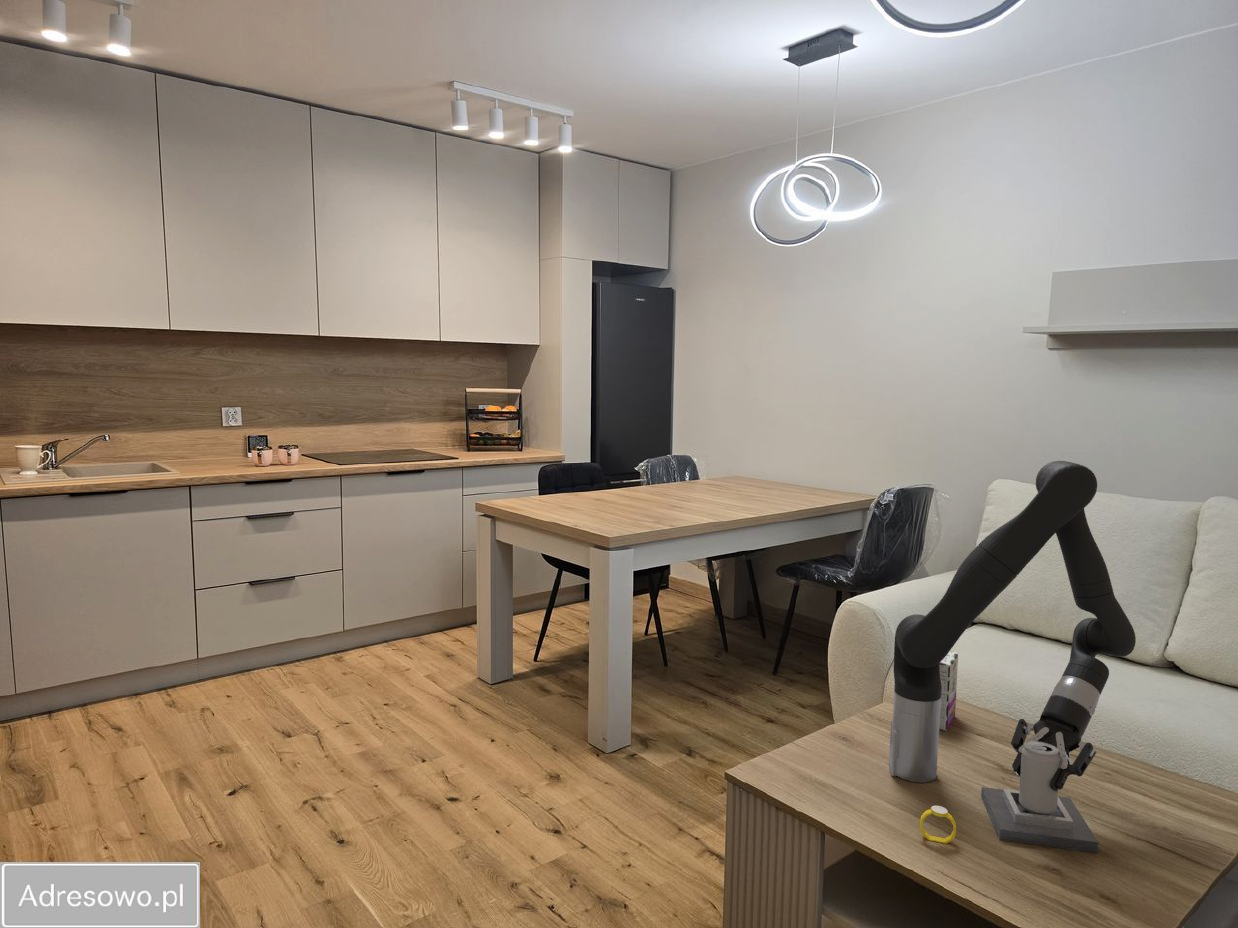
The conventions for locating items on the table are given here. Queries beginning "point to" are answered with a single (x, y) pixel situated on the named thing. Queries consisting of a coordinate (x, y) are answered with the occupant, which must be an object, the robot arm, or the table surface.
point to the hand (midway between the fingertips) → (1034, 780)
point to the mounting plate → (1038, 822)
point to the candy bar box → (948, 689)
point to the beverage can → (1038, 778)
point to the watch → (941, 813)
